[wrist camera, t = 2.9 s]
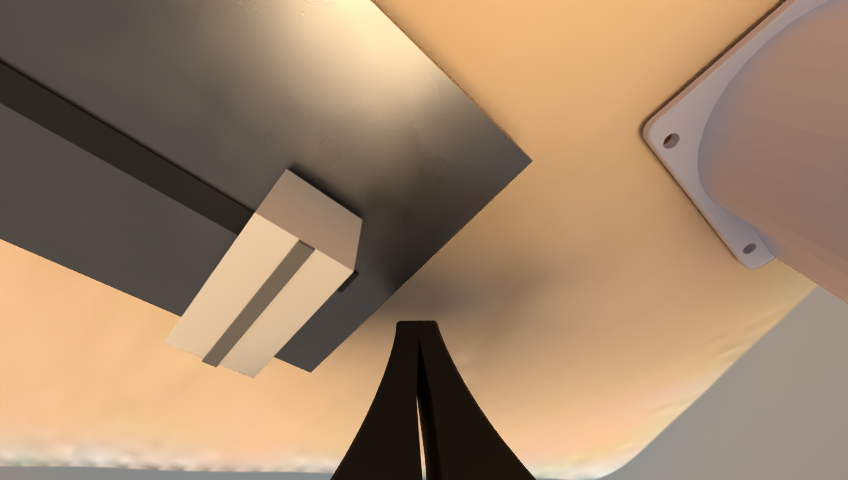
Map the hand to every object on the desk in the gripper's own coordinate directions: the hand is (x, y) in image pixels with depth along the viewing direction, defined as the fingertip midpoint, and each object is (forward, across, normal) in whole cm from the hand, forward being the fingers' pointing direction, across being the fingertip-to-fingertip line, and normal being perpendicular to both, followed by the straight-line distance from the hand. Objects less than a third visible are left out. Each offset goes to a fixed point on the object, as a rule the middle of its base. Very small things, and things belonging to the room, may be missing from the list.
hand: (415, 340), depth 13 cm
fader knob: (+1, +4, -3) cm, 6 cm away
